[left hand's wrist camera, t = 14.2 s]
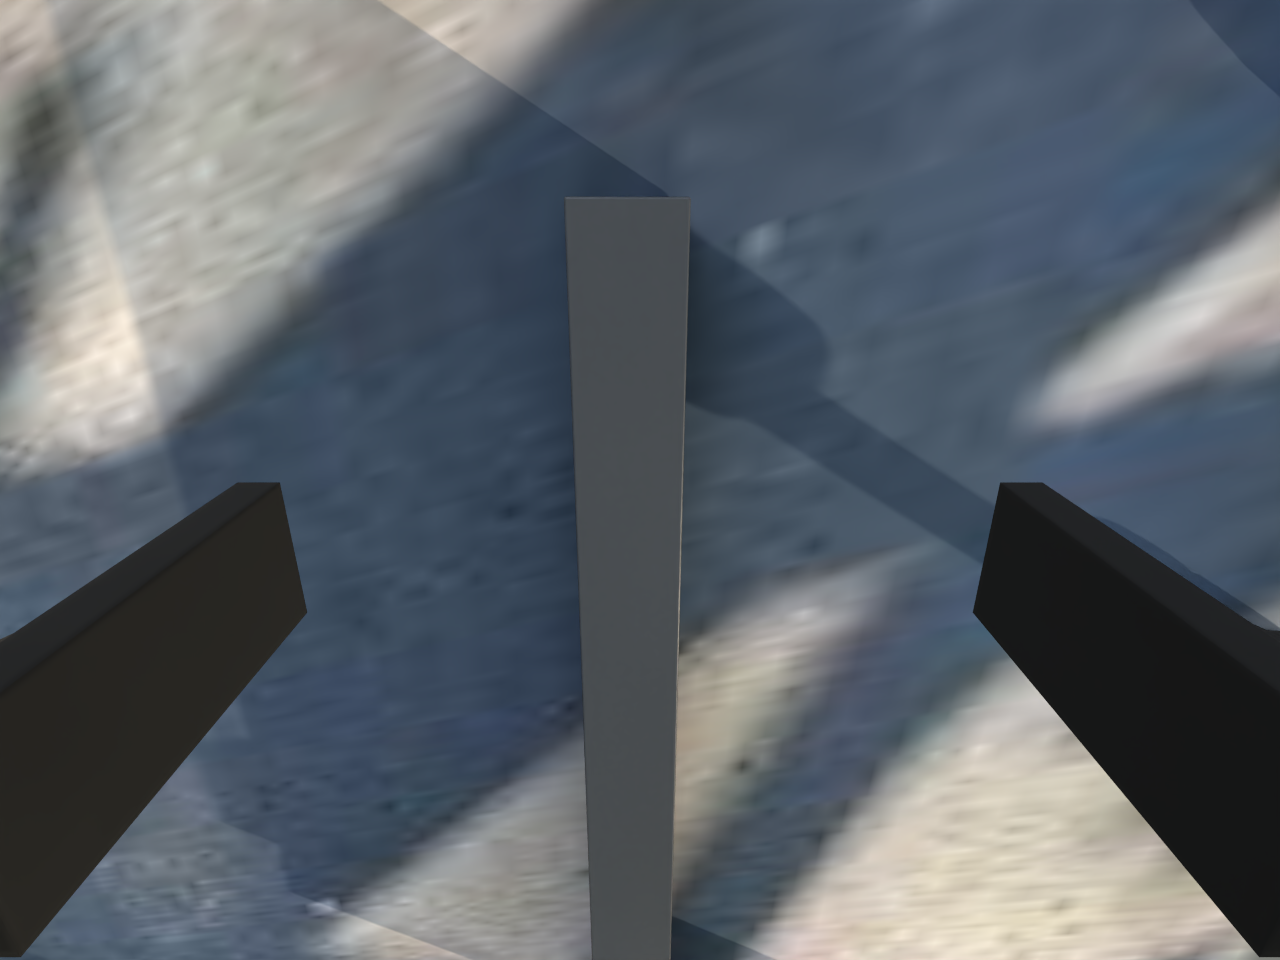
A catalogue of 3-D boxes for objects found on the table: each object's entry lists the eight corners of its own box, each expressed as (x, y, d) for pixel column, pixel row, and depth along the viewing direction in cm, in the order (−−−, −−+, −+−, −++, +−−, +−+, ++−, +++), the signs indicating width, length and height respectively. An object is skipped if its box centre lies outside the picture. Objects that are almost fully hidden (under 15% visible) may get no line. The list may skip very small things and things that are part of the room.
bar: (577, 199, 35) (563, 196, 28) (678, 199, 35) (690, 196, 28) (601, 1008, 59) (598, 1119, 52) (661, 1008, 59) (666, 1118, 52)
